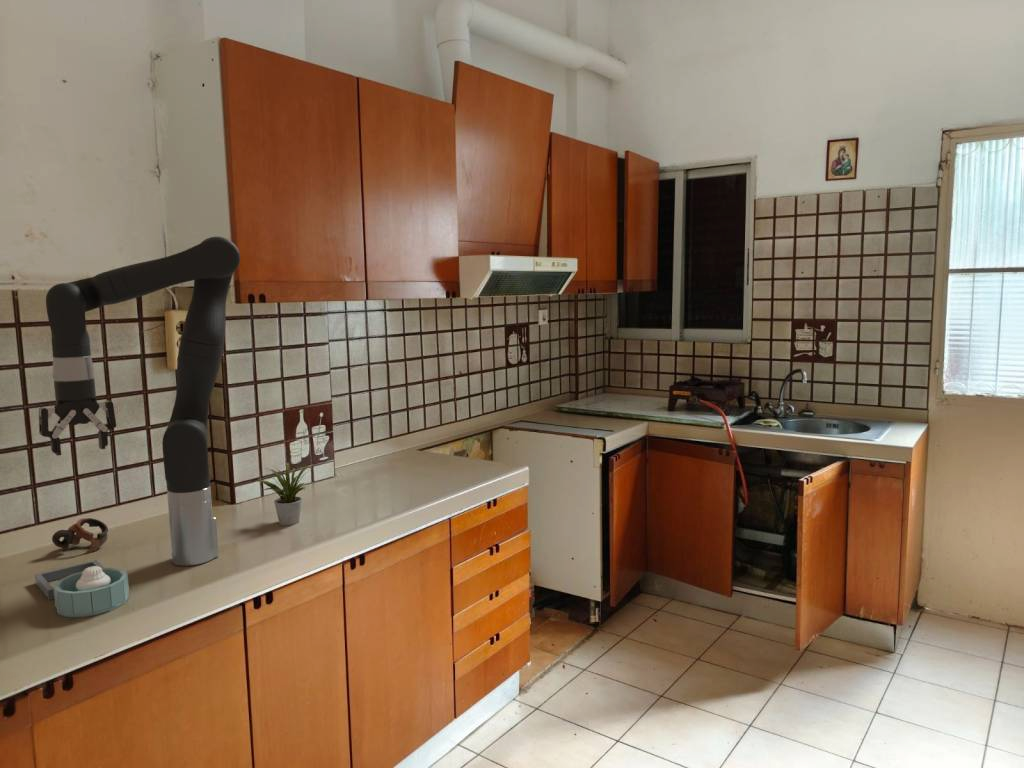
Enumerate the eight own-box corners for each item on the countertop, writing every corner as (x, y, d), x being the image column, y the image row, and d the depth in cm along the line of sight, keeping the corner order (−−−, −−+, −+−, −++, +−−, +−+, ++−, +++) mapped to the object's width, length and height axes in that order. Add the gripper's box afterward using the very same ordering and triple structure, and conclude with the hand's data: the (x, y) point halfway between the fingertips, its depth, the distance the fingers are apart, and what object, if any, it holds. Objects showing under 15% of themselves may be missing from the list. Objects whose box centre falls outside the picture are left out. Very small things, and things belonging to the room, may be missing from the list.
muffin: (76, 597, 151) (73, 564, 150) (110, 590, 155) (107, 558, 154) (78, 608, 146) (75, 574, 145) (113, 600, 150) (110, 567, 149)
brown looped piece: (87, 541, 189) (101, 514, 188) (104, 564, 184) (119, 536, 183) (39, 543, 179) (53, 515, 177) (55, 568, 174) (70, 539, 173)
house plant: (300, 509, 212) (297, 453, 210) (329, 519, 203) (326, 460, 200) (254, 521, 201) (251, 462, 199) (282, 532, 192) (279, 471, 190)
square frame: (96, 568, 169) (96, 559, 169) (112, 583, 161) (112, 574, 160) (35, 583, 161) (34, 574, 161) (49, 599, 152) (48, 590, 152)
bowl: (117, 585, 159) (115, 563, 158) (136, 603, 150) (134, 580, 149) (50, 603, 151) (47, 580, 150) (66, 623, 142) (63, 598, 141)
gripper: (39, 382, 151) (47, 460, 154) (115, 375, 161) (121, 449, 163) (31, 379, 157) (38, 454, 159) (105, 373, 166) (111, 444, 169)
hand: (80, 451), depth 161 cm, fingers open, 8 cm apart
